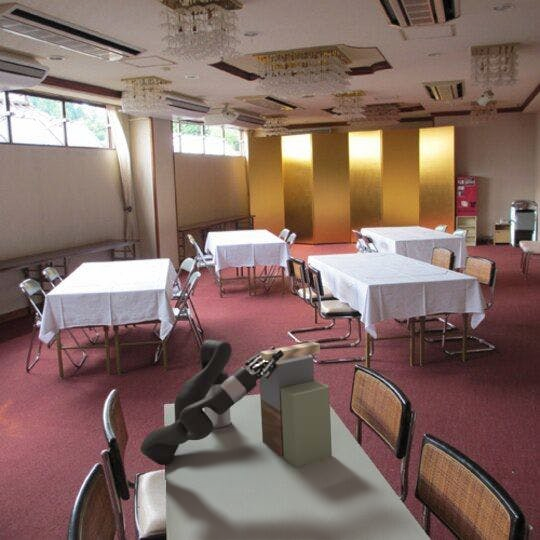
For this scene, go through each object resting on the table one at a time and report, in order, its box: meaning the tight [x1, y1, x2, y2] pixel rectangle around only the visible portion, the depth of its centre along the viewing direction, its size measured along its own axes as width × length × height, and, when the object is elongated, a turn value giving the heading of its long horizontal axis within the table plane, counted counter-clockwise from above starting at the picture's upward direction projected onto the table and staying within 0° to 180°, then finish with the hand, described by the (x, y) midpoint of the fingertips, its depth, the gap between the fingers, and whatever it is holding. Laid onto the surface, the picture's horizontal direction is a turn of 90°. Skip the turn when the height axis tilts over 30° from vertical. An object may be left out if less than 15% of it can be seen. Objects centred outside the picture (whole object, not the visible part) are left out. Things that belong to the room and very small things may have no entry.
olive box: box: [281, 379, 333, 467], centre depth 190 cm, size 14×8×24 cm, turn 119°
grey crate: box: [258, 355, 315, 411], centre depth 199 cm, size 14×14×16 cm
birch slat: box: [259, 341, 321, 364], centre depth 184 cm, size 20×4×3 cm, turn 119°
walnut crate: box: [260, 399, 284, 457], centre depth 201 cm, size 14×14×16 cm
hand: (278, 350), depth 182 cm, fingers closed on birch slat, 4 cm apart
